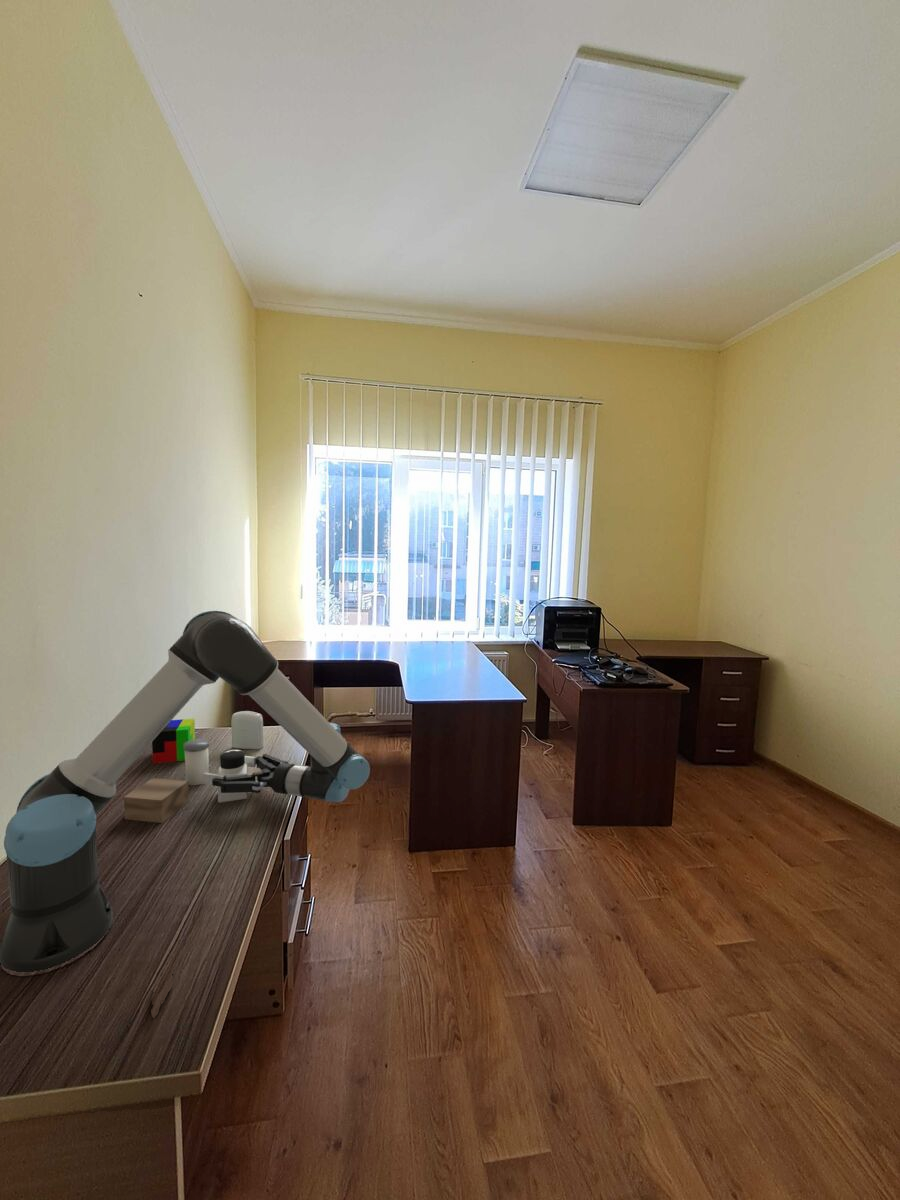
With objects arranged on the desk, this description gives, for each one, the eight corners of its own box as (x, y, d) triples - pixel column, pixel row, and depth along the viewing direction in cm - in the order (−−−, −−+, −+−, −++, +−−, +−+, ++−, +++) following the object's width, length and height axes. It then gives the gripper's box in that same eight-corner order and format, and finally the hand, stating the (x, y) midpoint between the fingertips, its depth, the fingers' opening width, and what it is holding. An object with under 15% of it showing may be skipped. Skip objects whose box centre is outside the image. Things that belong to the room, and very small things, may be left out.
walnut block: (162, 823, 119) (161, 800, 119) (124, 819, 121) (123, 796, 120) (188, 802, 129) (188, 781, 129) (154, 799, 130) (153, 777, 130)
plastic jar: (198, 787, 137) (197, 748, 136) (179, 783, 138) (178, 746, 137) (214, 776, 143) (213, 740, 142) (196, 773, 145) (195, 737, 143)
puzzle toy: (161, 750, 160) (160, 721, 159) (195, 747, 163) (194, 718, 162) (152, 763, 151) (151, 732, 149) (189, 760, 154) (188, 729, 152)
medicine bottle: (247, 799, 131) (246, 756, 130) (218, 803, 129) (216, 759, 127) (247, 786, 138) (246, 745, 137) (219, 790, 135) (218, 749, 134)
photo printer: (229, 748, 162) (228, 712, 161) (236, 743, 167) (235, 708, 165) (259, 750, 162) (258, 714, 160) (265, 745, 166) (265, 710, 164)
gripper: (265, 816, 117) (188, 802, 123) (314, 773, 140) (248, 763, 145) (264, 786, 117) (187, 774, 122) (314, 748, 139) (247, 738, 144)
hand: (220, 768), depth 134 cm, fingers open, 11 cm apart
